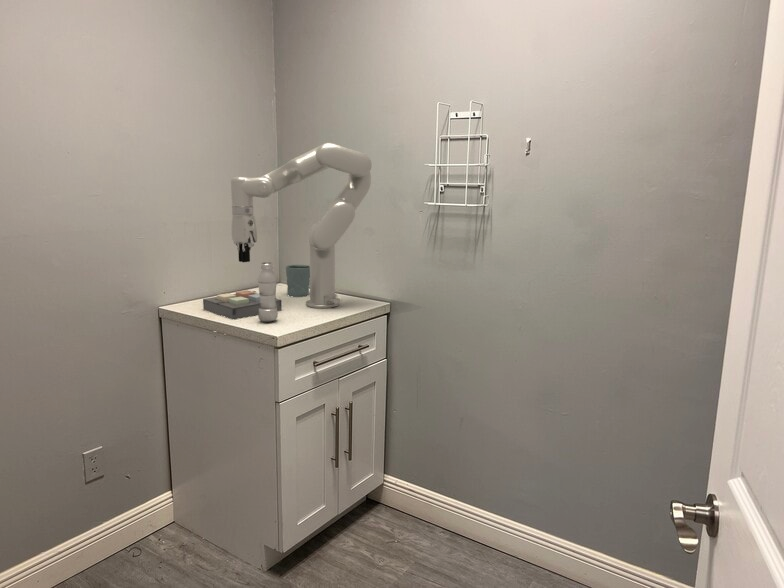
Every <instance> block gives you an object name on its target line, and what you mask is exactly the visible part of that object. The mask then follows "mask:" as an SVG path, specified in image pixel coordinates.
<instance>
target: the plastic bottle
mask: <svg viewBox="0 0 784 588" xmlns="http://www.w3.org/2000/svg"><path fill="white" fill-rule="evenodd" d="M260 269H261V270H260V272H259V274H258V276H257V279H256V280H257V286H258V287H257V288H258V292H259V293H258V294H260V301H259V310H258V315H257V317H258V319H259V321H260V322H264V323H271V322H275V321H277V318H278V315H279V314H278V313H279V311H277V307H276V299H277V295H276V293H277V285H278V284H277V283H278V277H277V275H276V273H275V271H274V270H273V269H274V267H273V262H271V261H269V262H268V261H267V262H264V261H263V262H261V266H260Z"/></svg>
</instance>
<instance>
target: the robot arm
mask: <svg viewBox="0 0 784 588" xmlns="http://www.w3.org/2000/svg"><path fill="white" fill-rule="evenodd" d="M328 169H333V170H335V171H338V172H342V173H346V174H348V179H347V182H346V183H345V184H344V186H343V187H342V189H341V191H340V192H339V193H338V195H337V196H336V197H335V198H334V199H333V200H332V201H331V202H330V204H329V205H328V207H327V211H326V213H325V214H324V215H323V217H322V218H321V219H320V220H319V221H318V222H315V223H314V224H313V225H311V227H310V229H309V232H308V245H309V247H308V248H309V250H308V251H309V266H310V278H309V280H310V281H309V299H308V300H306V302H305V305H306V306H307V307H310V308H315V309H316V308H317V309H328V308H329V309H331V308H336V307H338V306H339V305H340V302H341V299H340V298H339V297H337V293H336V247H335V246H336V245H337V243H338V242H339V240H340V239H341V238H342V236H344V234H345V233H346V232H347V230H348V229H349V228H350V226H351V224H352V223H353V222H354V219H355V217H356V211H357V209H358V207H360V204H362V202H363V201H364V199H365V197H366V196H367V194H368V193H369V191H370V187H371V183H372V175H371V170H372V160H371V158H370V156H368V155H367V154H366V153H364V152H361V151H358V150H355V149H351V148H348V147H345V146H342V145H338V144H337V143H335V142H334V143H333V142H324V143H322V144H320V145H319V146H316V147H315V148H312V149H311V150H308V151H306V152H304V153H302V154H300V155H298V156H296V157H294V158H292V159H290V160H289V161H287V162H286V163H284V164H283V165H282V166H279V167H278V168H276V169H274V170H272V171H270V172H268V173H265V174H264V175H262V176H256V177H249V176H233V177H232V178H231V179H230V192H231V193H230V194H231V195H230V197H231V216H232V217H231V218H232V219H231V238H232V239H231V240H232V241H233V244H234V245H235V246H236V249H237V251H238V262H241V263H249V262H250V261H251V248H252V247H254V246H255V243H257V242H258V235H257V223H256V218H255V215H254V197H255V198H261V199H265V198H269V197H270V196H271V195H273V194H275V193H277V192H279V191H281V190H283V189H285V188H287V187H289V186H291V185H294V184H298V183H301V182H303V181H305V180H306V181H307V180H308V179H310V178H312V177H313V176H315V175H318V174H320V173H321V172H324V171H327V170H328Z"/></svg>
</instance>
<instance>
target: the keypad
mask: <svg viewBox="0 0 784 588" xmlns="http://www.w3.org/2000/svg"><path fill="white" fill-rule="evenodd" d="M232 294H233V295H236V293H232ZM255 294H258V293H256V292H255ZM202 305H203V307H202V308H203V311H206V312H209V313H213V314H215V315H219V316H221V315H222V316H221V317H224V316H225V318H227V317H228V318H227V319H230V318H232V319H231V320H233V319H234V320H238V319H237V318H240V319H244V318H243V317H245V318H249V317H248V316H250V317H254V315H255V316H258V310H259V302H254V301H250V300H249V303H247V304H242V305H233V304H230V303H229V301H225V302H223V301H220V300H217V296H214V297H208V298H203V299H202ZM276 307H277V311H278V312H281V311H282V310H283V309H282V307H283V306H282V299H281V298H276Z"/></svg>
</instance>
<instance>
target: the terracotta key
mask: <svg viewBox="0 0 784 588" xmlns="http://www.w3.org/2000/svg"><path fill="white" fill-rule="evenodd" d="M255 293H256V292H255V291H251V290H248V289H246V290H243V291H242V290H241V291H236V292H235V294H236V297H244V298H248V295H254V294H255Z"/></svg>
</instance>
